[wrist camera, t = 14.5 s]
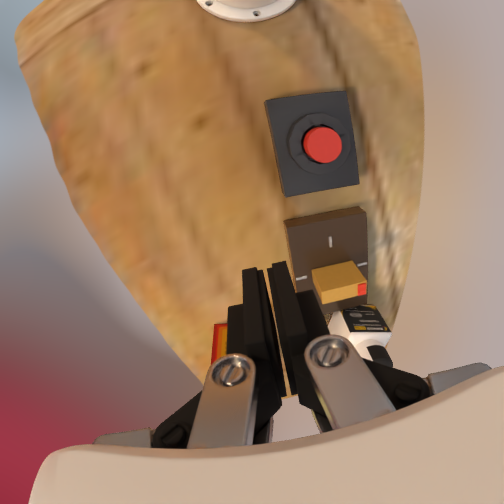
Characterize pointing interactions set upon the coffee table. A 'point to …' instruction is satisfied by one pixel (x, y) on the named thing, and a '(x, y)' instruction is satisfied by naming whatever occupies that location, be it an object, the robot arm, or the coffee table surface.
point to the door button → (322, 144)
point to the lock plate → (327, 249)
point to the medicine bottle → (363, 331)
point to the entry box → (292, 137)
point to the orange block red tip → (339, 282)
